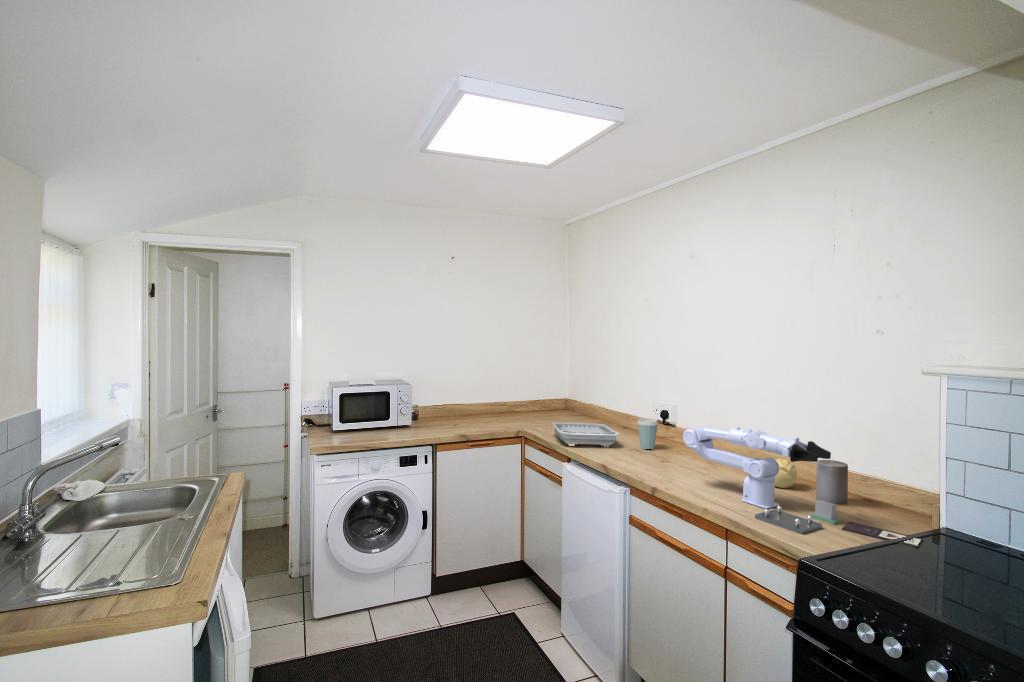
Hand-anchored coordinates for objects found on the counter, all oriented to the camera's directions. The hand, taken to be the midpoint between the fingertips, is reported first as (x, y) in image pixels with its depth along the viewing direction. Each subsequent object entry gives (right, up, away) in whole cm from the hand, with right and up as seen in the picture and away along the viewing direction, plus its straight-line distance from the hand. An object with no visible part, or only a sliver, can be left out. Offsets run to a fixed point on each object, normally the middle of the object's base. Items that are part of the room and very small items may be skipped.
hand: (823, 457), depth 164 cm
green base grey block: (+2, -21, +3) cm, 21 cm away
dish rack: (-59, -18, +116) cm, 132 cm away
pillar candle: (+16, -21, +23) cm, 35 cm away
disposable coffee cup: (-29, -19, +102) cm, 108 cm away
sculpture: (+7, -21, +41) cm, 46 cm away
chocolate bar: (+12, -22, -9) cm, 26 cm away
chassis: (-12, -20, -1) cm, 24 cm away
